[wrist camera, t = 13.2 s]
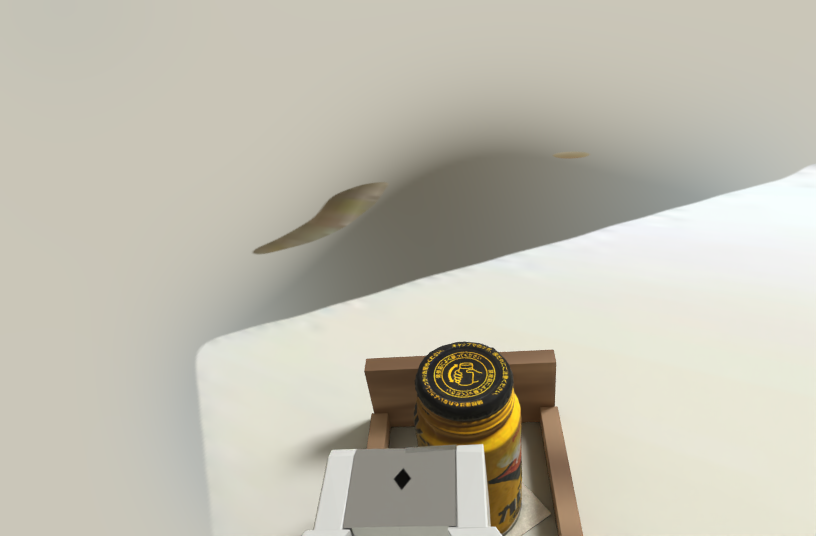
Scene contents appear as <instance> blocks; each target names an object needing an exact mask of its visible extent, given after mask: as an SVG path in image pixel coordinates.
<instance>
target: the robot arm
mask: <svg viewBox="0 0 816 536" xmlns="http://www.w3.org/2000/svg"><path fill="white" fill-rule="evenodd" d="M301 536H502V535H501V533H500V532H499V531H498V529H497V528H496V527H491V524H490V507H489V496H488V486H487V475H486V465H485V455H484V446H483V444H475V445H458V446H457V445H440V446H422V447H406V448H389V449H342V450H331V453H330V455H329V457H328V459H327V464H326V469H325V474H324V479H323V484H322V489H321V494H320V498H319V503H318V508H317V513H316V518H315V523H314V528H313V530H306V531H305V532H304V533H303V534H302V535H301Z"/></svg>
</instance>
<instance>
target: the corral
mask: <svg viewBox="0 0 816 536" xmlns="http://www.w3.org/2000/svg"><path fill="white" fill-rule="evenodd" d="M499 353H500V354H501V355H502V357H504V358H505V359H506V361H507V362H508V364H509V365H510V368H511V371H512V372H513V381H514V383H513V389H514V393H515V394H516V396H517V398H518V401H519V404H520V408H521V423H525V422H540V425H541V431H542V437H543V443H544V449H545V456H546V462H547V468H548V474H549V480H550V486H551V492H552V499H553V505H554V511H555V517H556V523H557V529H558V536H583V532H582V527H581V522H580V517H579V512H578V507H577V502H576V497H575V492H574V487H573V482H572V477H571V472H570V467H569V462H568V457H567V452H566V447H565V442H564V437H563V432H562V427H561V422H560V417H559V412H558V407H555V382H556V359H555V354H554V350H536V351H516V352H499ZM424 357H426V356H413V357H393V358H372V359H366V364H365V370H364V372H365V376H366V380H367V384H368V389H369V393H370V397H371V401H372V405H373V410H374V413H372V415H371V422H370V429H369V436H368V444H367V449H389V440H390V430H391V427H407V426H415V425H414V407H415V403H416V399H417V392H416V390H415V381H414V380H415V379H416V378H415V377H416V374H417V372H418V368H419V365H420V363H421V362H422V360H423V359H424Z"/></svg>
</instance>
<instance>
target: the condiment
mask: <svg viewBox="0 0 816 536" xmlns="http://www.w3.org/2000/svg"><path fill="white" fill-rule="evenodd" d="M415 378H416V379H415V380H414V381H415V390H416V392H417V399H416V403H415V407H414V425H415V430H416V436H417V441H418V447H422V446H440V445H457V446H458V445H475V444H483V446H484V455H485V465H486V475H487V486H488V496H489V507H490V524H491V527H496V528H497V529H498V531H499V532H500V533H501V535H502V536H521V535H522V534H524V533H526V532H527V531H528V530H530V529H531V528H532V527H534V526H535V525H537V524H538V523H540V522H541V521H543V520H544V519H545V518H547V517H548V516H549V515H550V514H551V512H550V511H549V510H548V509H547V508H546V507H545V506H544V505H543V503H542V502H541V501H540V500H539V499H538V498H537V497H536V496H535V495H534V494H533V493H532V492H531V491H530V490H529V488H528V487H527V486H526V485H525V484H524V483H523V482H522V461H521V428H522V426H521V408H520V404H519V401H518V398H517V396H516V394H515V393H514V389H513V383H514V381H513V372H512V371H511V368H510V365H509V364H508V362H507V361H506V359H505V358H504V357H502V355H501V354H500V353H499V352H497V351H496V350H495V349H494V348H490V347H488V346H486V345H483V344H480V343H473V342H456V343H452V344H447V345H444V346H441V347H439V348H437V349H435V350H434V351H432V352H430V353H429V354H428V355H427V356H426V357H424V359H423V360H422V362H421V363H420V365H419V368H418V372H417V374H416V377H415Z"/></svg>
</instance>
